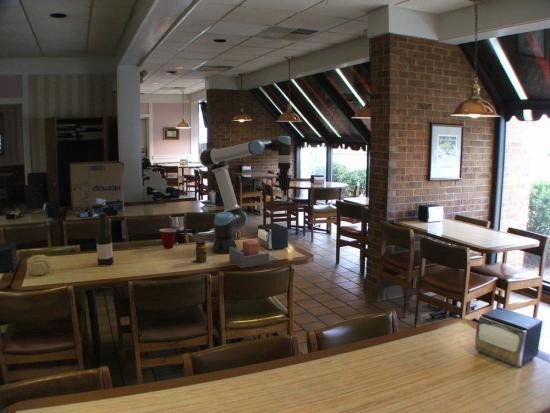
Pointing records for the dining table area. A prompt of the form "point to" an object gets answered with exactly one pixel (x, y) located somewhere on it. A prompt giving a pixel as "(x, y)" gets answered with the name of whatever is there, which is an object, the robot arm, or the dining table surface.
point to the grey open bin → (249, 258)
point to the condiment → (200, 253)
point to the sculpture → (38, 265)
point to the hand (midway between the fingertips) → (283, 200)
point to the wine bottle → (104, 243)
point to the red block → (250, 248)
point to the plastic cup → (168, 237)
